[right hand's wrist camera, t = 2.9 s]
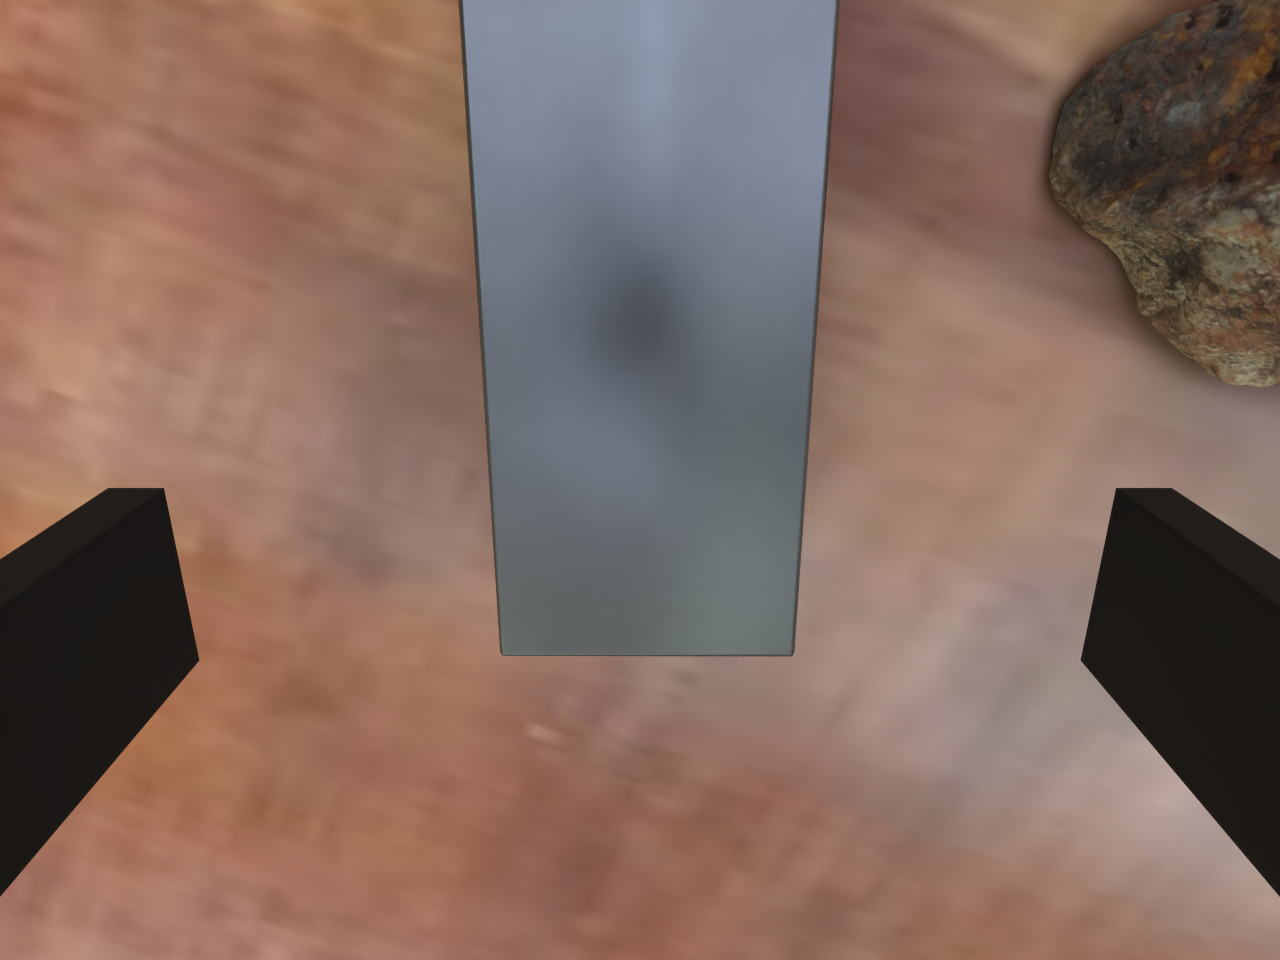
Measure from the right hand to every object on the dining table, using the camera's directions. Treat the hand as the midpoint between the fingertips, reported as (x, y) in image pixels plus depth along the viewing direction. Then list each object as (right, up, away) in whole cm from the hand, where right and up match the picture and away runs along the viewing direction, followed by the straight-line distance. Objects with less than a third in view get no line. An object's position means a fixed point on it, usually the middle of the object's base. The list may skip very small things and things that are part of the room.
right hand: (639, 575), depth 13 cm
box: (0, +13, +10) cm, 16 cm away
